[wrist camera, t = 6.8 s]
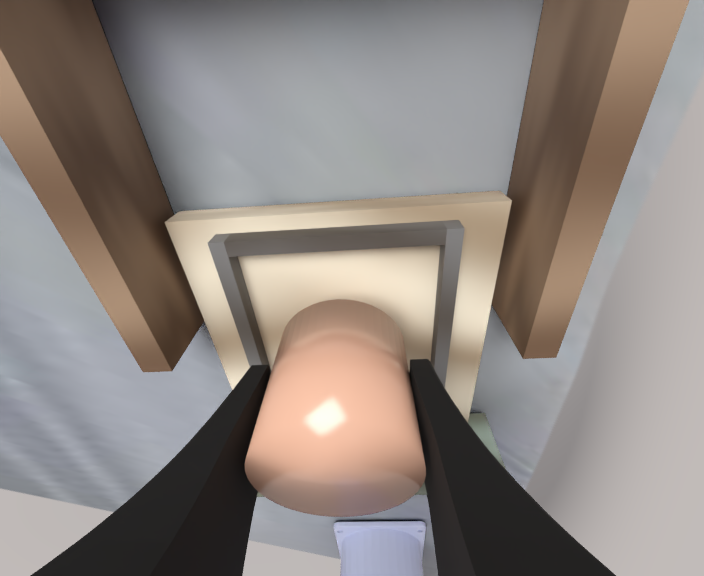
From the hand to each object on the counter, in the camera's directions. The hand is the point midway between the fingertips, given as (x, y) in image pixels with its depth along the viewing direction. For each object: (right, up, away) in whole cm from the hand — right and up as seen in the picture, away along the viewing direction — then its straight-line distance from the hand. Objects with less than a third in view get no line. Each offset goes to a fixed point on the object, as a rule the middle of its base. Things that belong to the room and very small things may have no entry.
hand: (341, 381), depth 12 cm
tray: (0, +1, +5) cm, 5 cm away
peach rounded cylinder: (0, +1, +1) cm, 2 cm away
